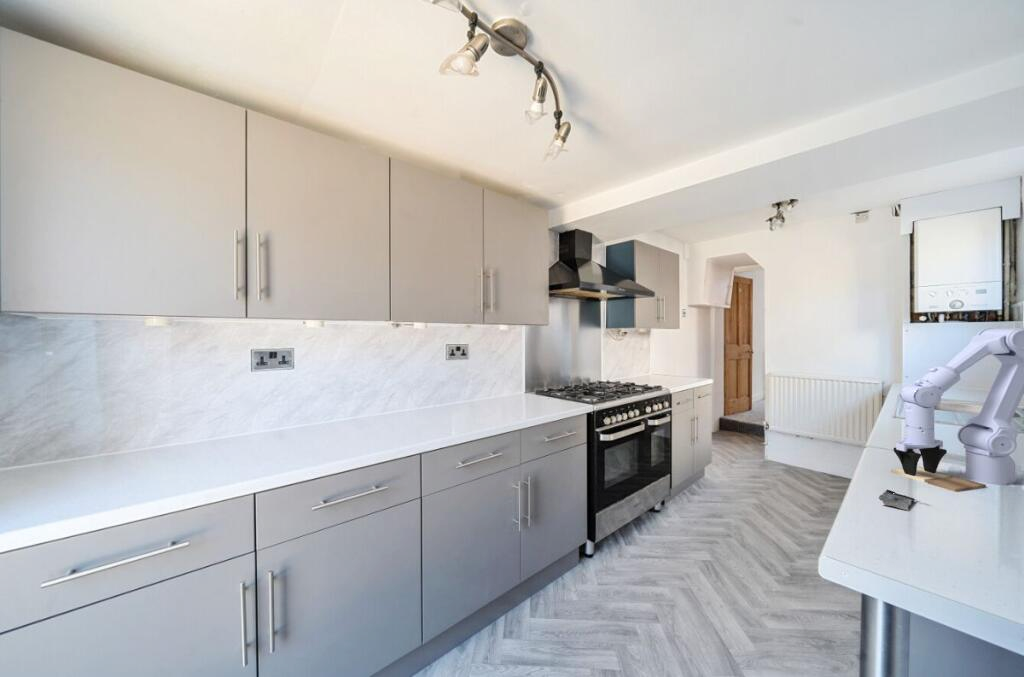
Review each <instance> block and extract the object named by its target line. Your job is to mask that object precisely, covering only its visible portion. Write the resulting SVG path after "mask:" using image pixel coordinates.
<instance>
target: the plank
mask: <svg viewBox="0 0 1024 677" xmlns="http://www.w3.org/2000/svg"><path fill="white" fill-rule="evenodd" d="M890 473H893V474H896V475H899V476H903V477H904V478H905V477H906V478H909V479H912V480H917V481H919V482H922V483H928V481H931V480H938V479H946V478H953V477H954V476H953V475H951V474H949V473H945V472H944V473H943V472H940V471H938V470H936V472H935V473H930V472H927V471H925V470H924V467H921V466H918V465H917V471H916V475H915V476H912V475H908V474H905V473H904V470H903V467H902V468H895V469H890Z"/></svg>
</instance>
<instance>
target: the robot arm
mask: <svg viewBox="0 0 1024 677" xmlns="http://www.w3.org/2000/svg"><path fill="white" fill-rule="evenodd" d="M970 339H971V340H970V342H969V343H968V344H967V345H966V346H965V347H964V348H962V350H961V351H959V353H957V354H956V355H955V356H954V357H953V358H952V359H951V360H950V361H948V362H947V363H946V365H937V366H935V367H930V368H929V369H928V370H927V371H928V372H927V373H926V374H924V375H923V376H922V377H921V378H920V379H916V380H914V383H913V384H908V385H906V386H904V387H903V388H902V389H901V391H900V392H899V393H898V397H899V398H900V401H902V402H903V407H904V424H905V426H904V430H905V432H904V433H905V434H904V436H905V437H902V438H900V442H899V441H898V442H896V443H895V444H896V446H895V447H893V453H895V454H896V456H897V458H898V459H899V461H900V464H901V466H902V468H903V470H904V473H905V474H908V475H912V476H915V475H916V471H917V466H918V462H919V461H920V458H921V459H922V466H923V467H922V468H924V470H925V471H927V472H930V473H935V472H936V471H938V470H937V469H938V467H939V464H940V462H941V460H942V458H944V456H945V455H946V454H947V449H945V448H944V441H943V440H940V439H936V438H935V406H936V405H939V404H940V403H941V401H942V396H943V395H944V394H945V392H946V391H948V390H949V389H951V388H952V387H953V386H955V385H956V384H957V383H959V381H961V374H962V373H963V372H964V371H967V370H968V369H969V368H971V367H972V366H974V365H975V364H977V362H978V363H979V361H981V360H983V359H984V358H985V357H987V356H990V355H991V356H993V357H995V359H997V360H998V361H999V362H1000V363H1001V366H1000V368H999V371H998V372H997V375H996V378H995V380H994V381H993V383H992V385H991V387H990V390H989V392H988V394H987V396H986V399H985V401H984V403H983V405H982V407H981V410H980V411H979V414H978V415H976V416H972V417H971V418H968V419H967V421H966V423H965V424H964V425H963V426H962V427H960V428H959V429H958V431H957V435H956V436H957V439H958V441H959V442H960V443H961V444H963V449H965V451H964V452H965V454H964V455H965V457H964V458H965V477H966V479H968V480H970V481H974V482H977V483H981V484H989V485H995V486H1006V485H1009V484H1011V483H1016V462H1015V460H1014V459H1013V458H1012V456H1011V454H1013V453H1014V452H1015V451H1016V449H1017V436H1018V435H1019V433H1018V431H1017V430H1016V429H1015V428H1014V427H1013V425H1011V422H1012V420H1013V418H1014V416H1015V414H1016V411H1017V409H1018V407H1019V405H1020V403H1021V401H1022V399H1023V397H1024V327H1017V328H1012V327H1011V328H995V327H987V328H984V329H982V330H980V331H978V332H977V334H975V335H973V336H971V338H970ZM914 450H919V453H918V452H916V451H914Z"/></svg>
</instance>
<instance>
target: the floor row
mask: <svg viewBox="0 0 1024 677" xmlns="http://www.w3.org/2000/svg"><path fill="white" fill-rule="evenodd" d="M927 484H928V485H932V486H935V487H938V488H941V489H945V490H947V491H952V492H956V493H957V492H965V491H969V490H977V489H985V488H987V486H986V485H987V484H986V483H982V482H978V481H974V480H971V479H967V478H964V477H963V478H961V477H959V476H955V477H954V476H953V478H946V479H938V480H931V481H928V482H927Z"/></svg>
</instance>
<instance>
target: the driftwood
mask: <svg viewBox="0 0 1024 677" xmlns="http://www.w3.org/2000/svg"><path fill="white" fill-rule="evenodd" d="M893 493H894V494H893ZM878 499H879V500H880V501H882V503H883V505H884V506H890V507H894V508H898V509H902V510H903V511H909V506H911V504H912V503H915V502H916V501H915V500H916V499H915V498H913V497H910V496H908V495H902V494H898V493H895V491H894V490H891V489H886V490H885V492H883V493H882V494H880V495H879V496H878Z"/></svg>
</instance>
